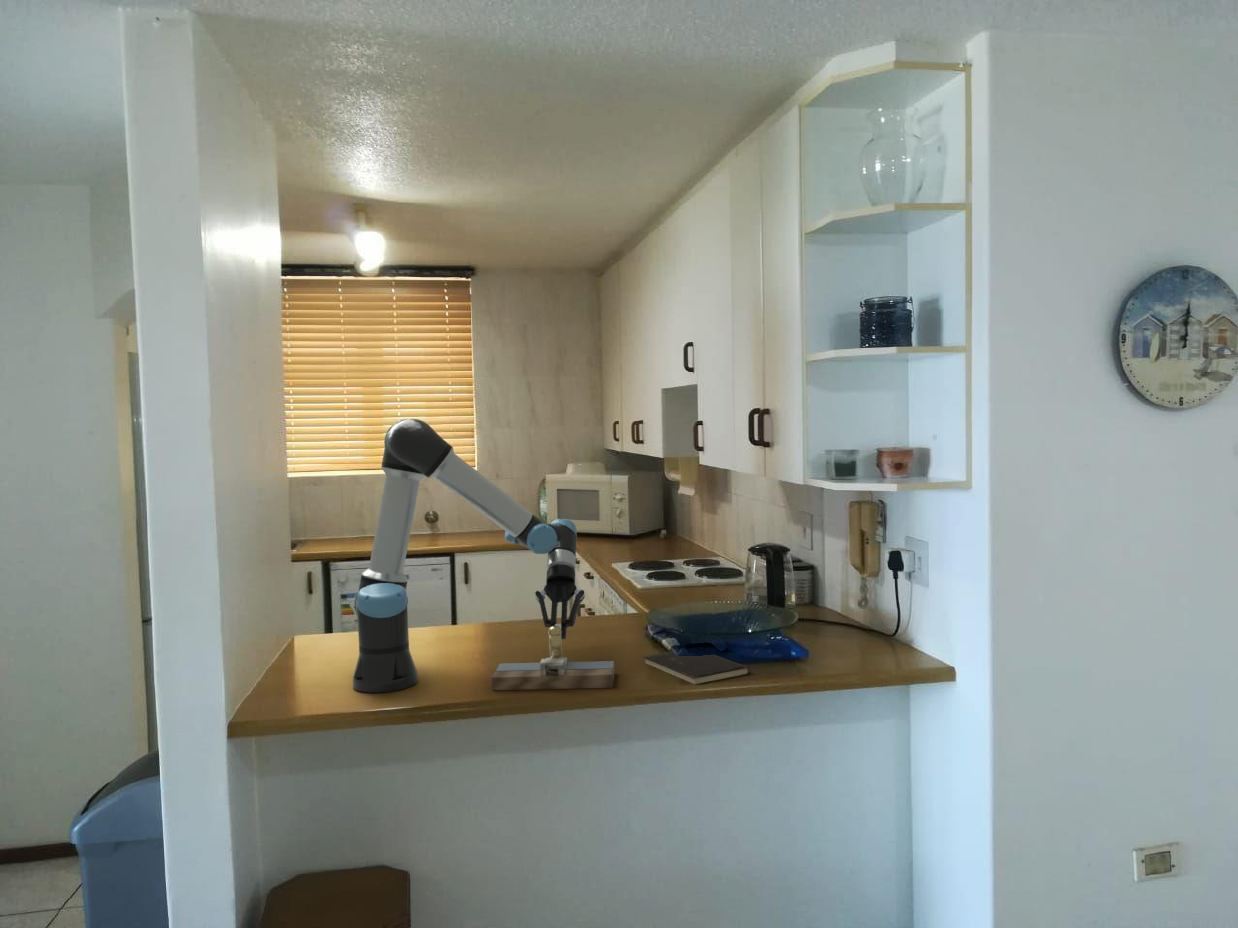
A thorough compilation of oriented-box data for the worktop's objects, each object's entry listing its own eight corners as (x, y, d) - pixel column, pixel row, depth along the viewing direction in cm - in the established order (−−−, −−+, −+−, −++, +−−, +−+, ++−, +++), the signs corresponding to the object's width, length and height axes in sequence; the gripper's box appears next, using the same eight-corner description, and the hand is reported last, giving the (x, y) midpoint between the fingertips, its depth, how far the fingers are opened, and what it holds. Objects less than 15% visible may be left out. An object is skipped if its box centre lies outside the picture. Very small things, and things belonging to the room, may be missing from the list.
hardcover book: (693, 687, 204) (693, 677, 204) (643, 665, 225) (643, 656, 225) (749, 675, 212) (749, 666, 212) (696, 655, 232) (695, 646, 232)
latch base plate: (496, 683, 210) (495, 665, 210) (500, 675, 217) (499, 658, 217) (613, 680, 210) (612, 663, 209) (614, 672, 216) (613, 656, 216)
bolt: (547, 669, 209) (545, 631, 208) (550, 661, 216) (548, 624, 216) (560, 669, 209) (559, 630, 208) (563, 661, 216) (561, 624, 215)
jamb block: (492, 690, 205) (491, 664, 205) (495, 683, 210) (494, 658, 210) (612, 687, 204) (611, 661, 204) (613, 681, 209) (612, 656, 209)
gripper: (586, 578, 235) (585, 656, 220) (537, 579, 236) (532, 658, 220) (585, 562, 230) (583, 640, 214) (535, 563, 230) (529, 642, 214)
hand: (557, 649), depth 217 cm, fingers closed
